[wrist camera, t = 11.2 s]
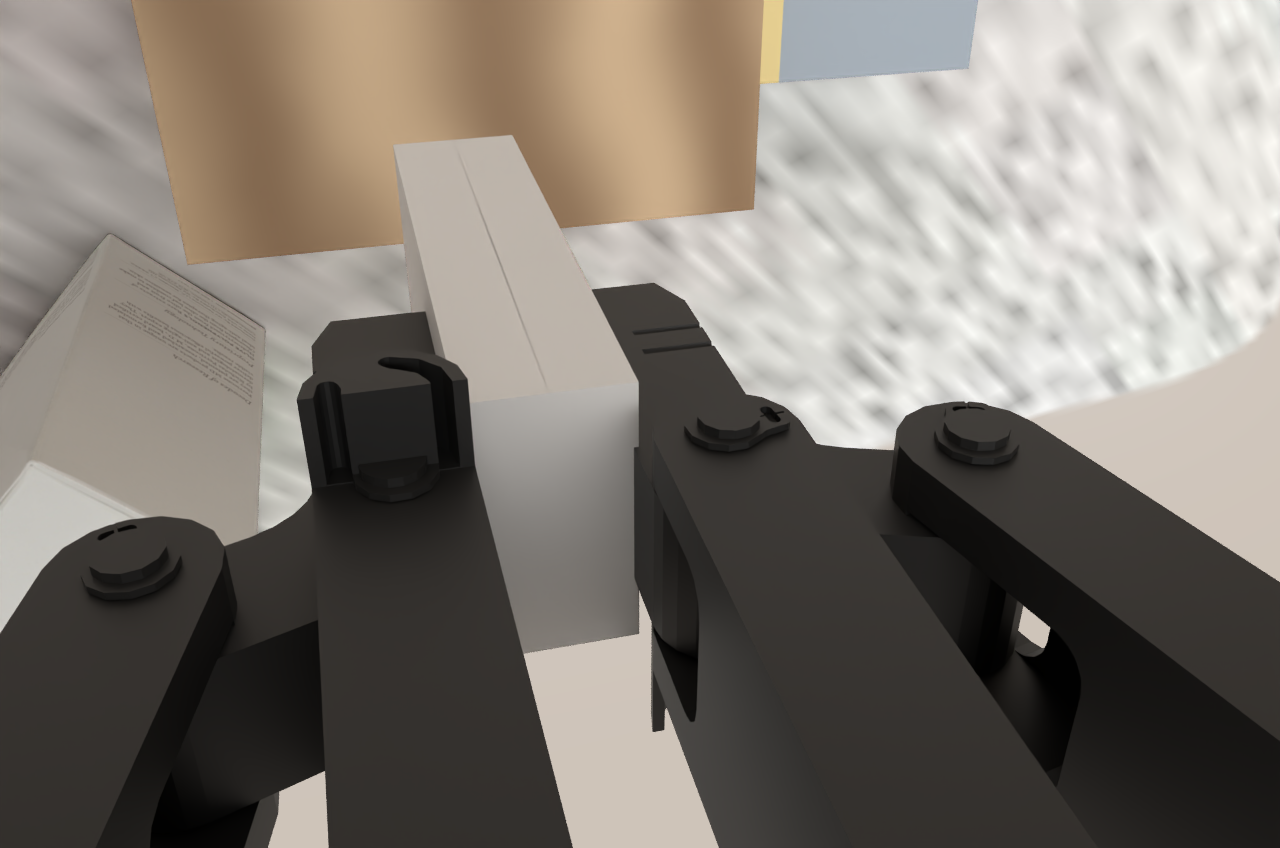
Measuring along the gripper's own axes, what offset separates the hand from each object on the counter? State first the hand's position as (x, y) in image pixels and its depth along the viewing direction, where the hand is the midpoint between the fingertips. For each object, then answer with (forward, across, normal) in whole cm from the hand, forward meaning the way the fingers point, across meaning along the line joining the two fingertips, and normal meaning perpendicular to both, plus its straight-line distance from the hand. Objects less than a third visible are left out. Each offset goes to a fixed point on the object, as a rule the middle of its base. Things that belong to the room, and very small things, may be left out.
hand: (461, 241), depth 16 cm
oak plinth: (+26, +2, 0) cm, 26 cm away
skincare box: (+27, -10, -14) cm, 32 cm away
